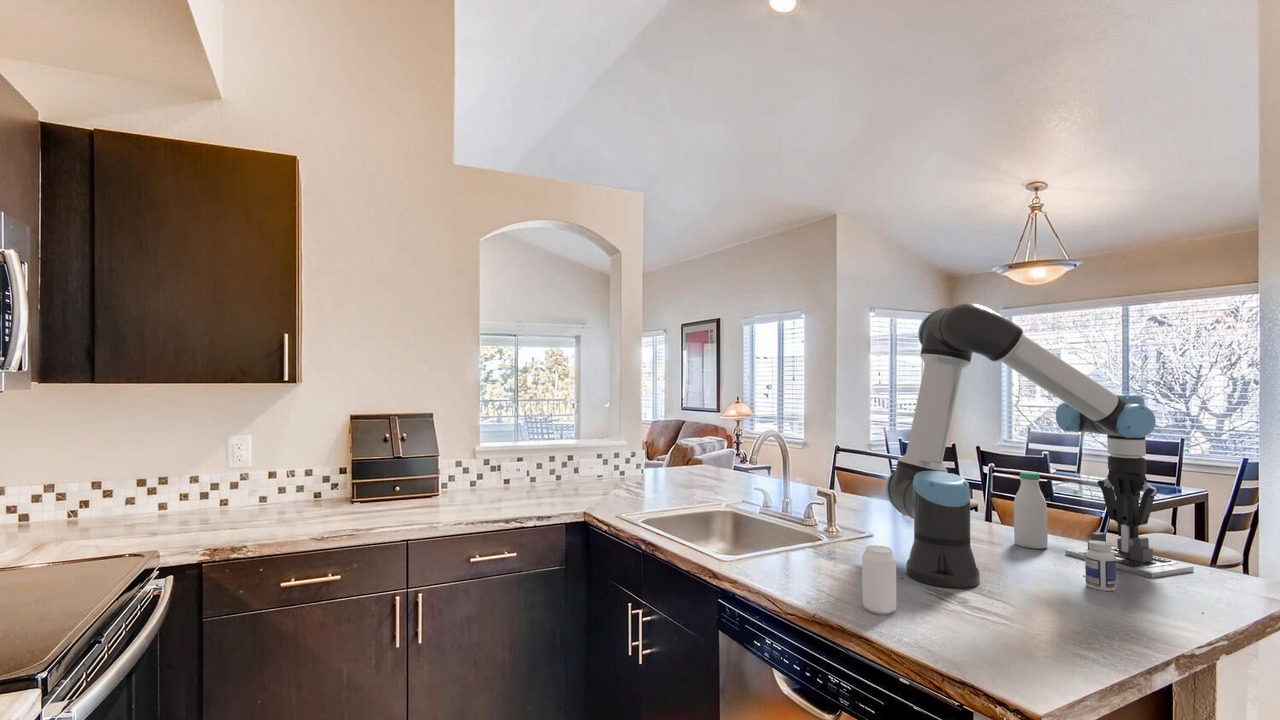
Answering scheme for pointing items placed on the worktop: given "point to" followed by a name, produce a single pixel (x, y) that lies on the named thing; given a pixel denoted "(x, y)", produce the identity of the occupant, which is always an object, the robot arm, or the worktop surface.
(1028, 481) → the milk bottle
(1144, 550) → the handle mid
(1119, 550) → the handle right
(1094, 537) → the handle left
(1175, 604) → the worktop surface
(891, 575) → the beverage can
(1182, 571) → the panel
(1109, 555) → the pill bottle
